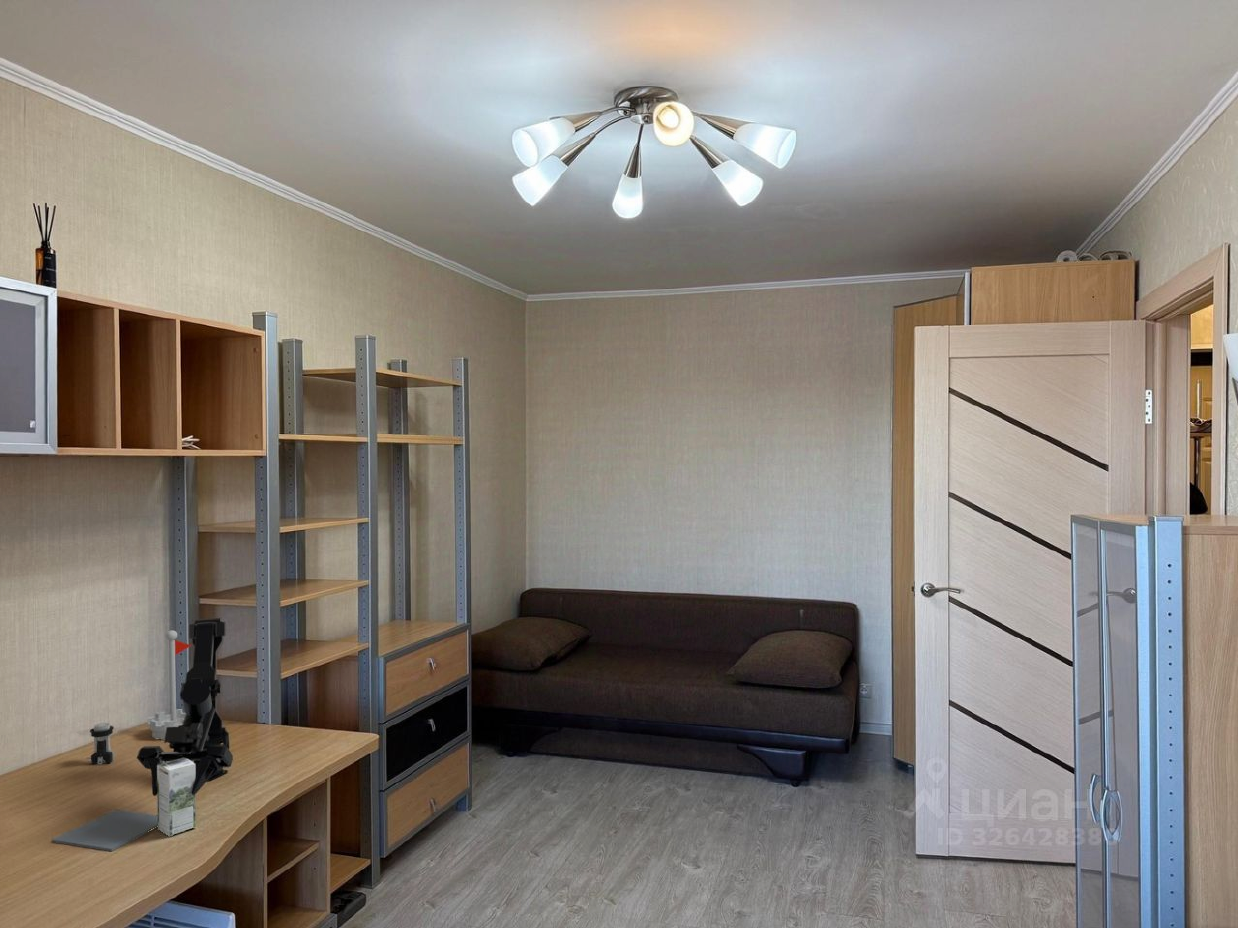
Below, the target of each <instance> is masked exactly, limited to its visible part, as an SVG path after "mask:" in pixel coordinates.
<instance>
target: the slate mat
mask: <svg viewBox="0 0 1238 928" xmlns="http://www.w3.org/2000/svg"><path fill="white" fill-rule="evenodd" d="M157 826H158V814H151V813H150V814H149V813H142V812H136V811H129V810H122V809H114V810H112V811H110V812H108V813H106V814H103V815H102V816H100V817H97V818H95V819H92V820H91V821H89V822H86V823H84V824H82V825H80V826H78V827H75V828H73V829H72V830H69V831H66V832H65V833H63V834H60V835H59V836H56V837H54V838H52V839H51V843H57V844H64V845H68V846H76V847H82V848H88V849H89V848H90V849H94V848H95V849H96V850H102V851H108V852H113V851H116V850H117V849H119V848H121V847H123V846H125V845H127V844H129V843H131V842H133V841H134V839H135V840H136V838H137V839H139V838H140V837H142V836H144V835H146V834H148V833H149V832H148V831H150V830H151V829H153V828H155V827H157ZM147 832H148V833H147ZM150 832H151V831H150ZM145 833H146V834H145ZM138 837H139V838H138ZM132 840H133V841H132ZM130 841H131V842H130ZM128 842H129V843H128ZM126 843H127V844H126ZM124 844H125V845H124ZM122 845H123V846H122ZM120 846H121V847H120ZM118 847H119V848H118ZM95 849H94V850H95Z"/></svg>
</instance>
